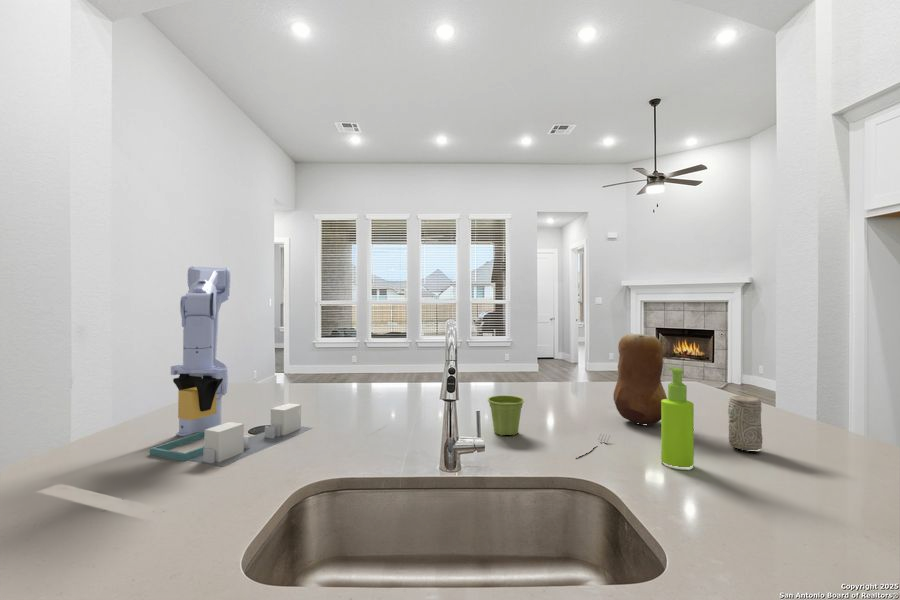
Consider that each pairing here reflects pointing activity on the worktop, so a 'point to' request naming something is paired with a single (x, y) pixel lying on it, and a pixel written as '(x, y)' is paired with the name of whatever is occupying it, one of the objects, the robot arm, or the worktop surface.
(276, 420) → the block
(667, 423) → the soap dispenser
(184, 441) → the tray
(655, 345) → the butternut squash
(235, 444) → the block
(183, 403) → the yellow rectangular block
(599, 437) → the fork
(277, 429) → the board
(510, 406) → the plant pot
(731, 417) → the carving
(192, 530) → the worktop surface
